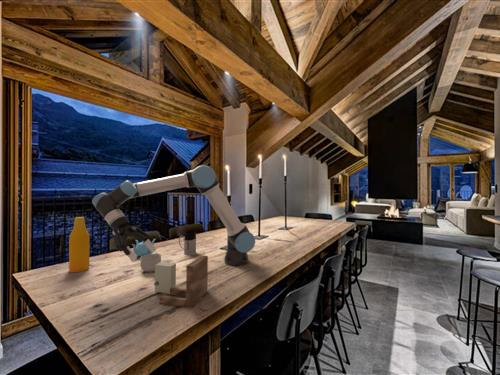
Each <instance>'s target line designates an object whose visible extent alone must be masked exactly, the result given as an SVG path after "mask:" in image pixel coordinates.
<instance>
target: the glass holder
mask: <svg viewBox="0 0 500 375" xmlns="http://www.w3.org/2000/svg"><path fill="white" fill-rule="evenodd" d="M182 237H183V238H182ZM181 238H182V239H183V241H184V242H183V243H184V246H183V247H182V245H181V241H180V240H181ZM178 243H179V244H178V245H179V247H180V248H181V249H183V256H194V255H197V231H195V230H187V231H184V235H180V236H179V238H178Z"/></svg>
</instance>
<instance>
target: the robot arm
mask: <svg viewBox="0 0 500 375" xmlns="http://www.w3.org/2000/svg"><path fill="white" fill-rule="evenodd" d="M183 188H188V189H189V188H191V189H192V188H197V189H198V191H199V193H200V194H201V195H203V196H205V197H206V199H207V201H208V202H209V203H210V205H211V207H212V208H213V209H214V212H215V213H216V215H217V216H218V218H219V220H220V221H221V222H222V224H223V225H224V227H225V228H226V231H227V232H226V233H227V237H226V238H227V240H226V241H227V245H226V246H227V248H226V253H225V255H224V260H223V261H224V263H225V264H226V265H229V266H242V265H244V266H245V265H246V264H249V261H250V260H249V255H248V253H249V252H250V251H253V249H254V247H255V244H256V237H255V236H254V234H253V233H252V232H251V231H250V230H249V229H248V226H247V225H246V223H244V222H241V220H240V218H238V216H237V214H236V212H235V210H234V209H233V208H232V206H231V205H230V202H229V201H228V200H227V197H226V196H225V194H224V193H223V191H222V190H221V188H220V181H219V180H218V178H217V176H216V172H215V170H214V169H213V167H211V166H208V165H205V164H200V165H198V166H196V167H195V168H194V169H191V170H187V171H184V172H183V173H181V174H175V175H170V176H165V177H161V178H156V179H151V180H145V181H140V182H135V183H134V182H131V181H130V180H125V181H124V182H122V183H120V184H119V185H118V186H117V187H116V188H114V189H113V190H112V191H110V192H109V193H107V192H101V193H99V194H96V195H95V196H94V197H93V198H92V199H91V200H92V201H91V202H92V205H93V206H94V208H95V210H96V211H97V212H99V214H100V215H101V216H102V217H103V219H104V220H105V221H106V223H107V224H108V225H109V226H110V228H111V229H112V232H111V235H112V238H113V241H114V245H115V246H114V247H115V249H116V250H115V251H119V252H121V253H122V252H123V253H124V254H125V255H126V256H127V258H128V259H130V261H131V262H132V263H134V262H135V261H136V260H137V258H138V257H137V255H136V254H135V253H134V251H133V249H131V248H130V246H129V245H128V246H127V238H130V237H131V238H135V239H138V240H140V241H141V242H142V241H144V242H145V243H144V244H145V245H146V246H147V247H148V248H149V250H150V251H151V252H152V254H154V253H155V252H156V250H157V248H156V246H155V244H154V245H153V244H152V240H151V239H150V238H152V237H151V235H150V234H148V233H147V232H145V231H144V230H143V229H141V228H140V227H139V226H138V225H136V224H134V225H133V226H132V225H130V224H131V223H130V220H129V219H128V217H127V216H125V214H124V213H123V212H122V210H121V209H120V208H119V207H120V206H121V205H122V204H124V203H125V202H126V201H128V200H130V199H135V198H139V197H143V196H148V195H153V194H158V193H162V192H167V191H173V190H177V189H183Z"/></svg>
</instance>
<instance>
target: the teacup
mask: <svg viewBox="0 0 500 375" xmlns="http://www.w3.org/2000/svg"><path fill="white" fill-rule="evenodd" d="M139 260H140V268H141V270H142V271H143V272H146V273H153V272H155V265H156V264H158V263H159V262H162V254H160V253H157V252H154V253H152V254H148V255H144V256H142V257H141V256H139Z"/></svg>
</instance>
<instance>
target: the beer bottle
mask: <svg viewBox="0 0 500 375" xmlns="http://www.w3.org/2000/svg"><path fill="white" fill-rule="evenodd" d="M85 222H86V221H85V216H79V217H78V216H76V217H74V223H73V227H72V228H73V229H72V230H71V232H70V234H69V238H68V243H69V244H68V254H69V255H68V258H69V259H68V261H69V262H68V270H69V272H70V273H80V272H85V271H87V270H88V269H89V268H90V234H89V232H88V230H87V228H86V223H85Z"/></svg>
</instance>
